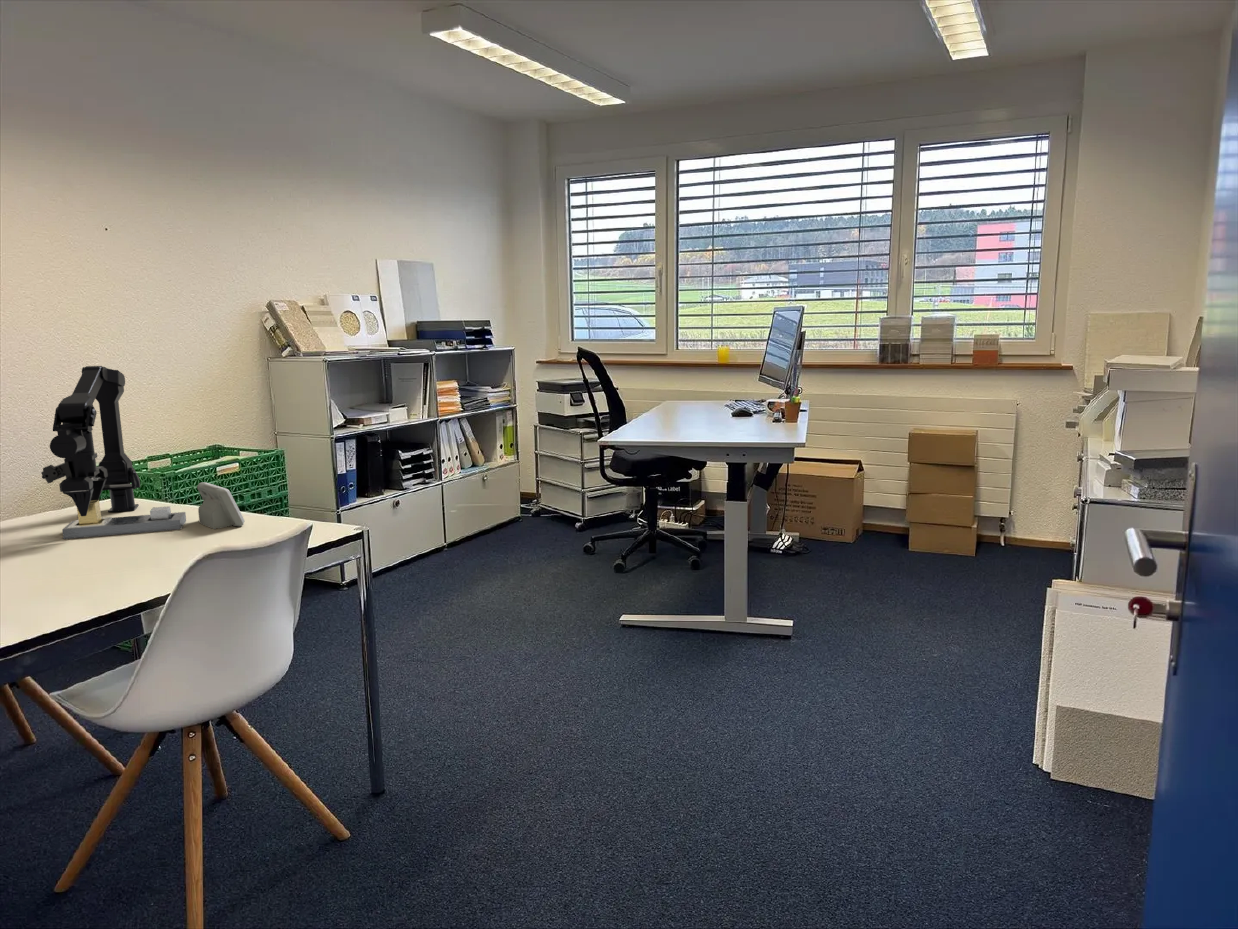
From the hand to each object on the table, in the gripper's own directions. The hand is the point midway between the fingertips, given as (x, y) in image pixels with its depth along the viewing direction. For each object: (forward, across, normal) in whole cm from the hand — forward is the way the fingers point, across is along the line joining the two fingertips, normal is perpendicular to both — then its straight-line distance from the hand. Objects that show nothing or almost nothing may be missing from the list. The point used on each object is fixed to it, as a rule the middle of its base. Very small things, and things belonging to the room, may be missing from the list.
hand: (88, 511), depth 205 cm
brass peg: (+6, 0, 0) cm, 6 cm away
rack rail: (+6, 0, +8) cm, 10 cm away
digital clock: (+6, +2, +30) cm, 31 cm away
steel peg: (+6, 0, +16) cm, 17 cm away
